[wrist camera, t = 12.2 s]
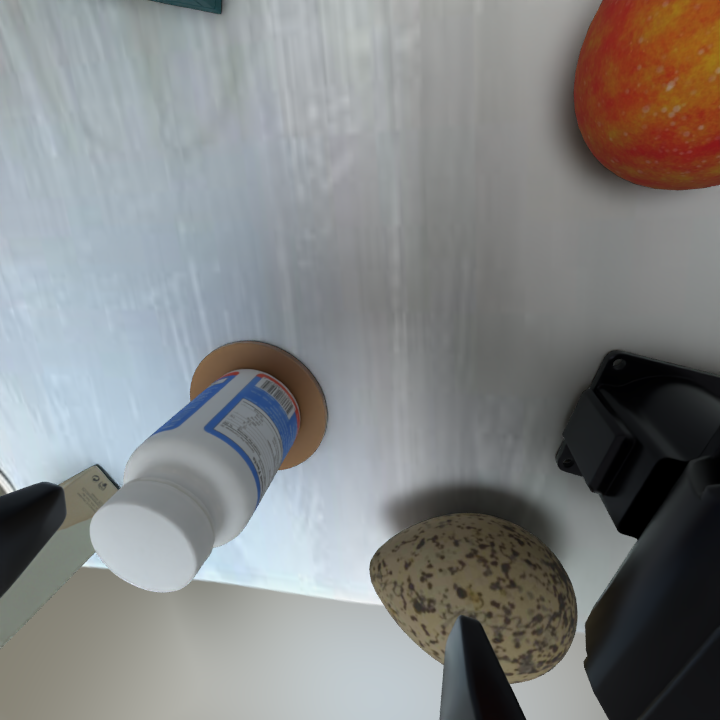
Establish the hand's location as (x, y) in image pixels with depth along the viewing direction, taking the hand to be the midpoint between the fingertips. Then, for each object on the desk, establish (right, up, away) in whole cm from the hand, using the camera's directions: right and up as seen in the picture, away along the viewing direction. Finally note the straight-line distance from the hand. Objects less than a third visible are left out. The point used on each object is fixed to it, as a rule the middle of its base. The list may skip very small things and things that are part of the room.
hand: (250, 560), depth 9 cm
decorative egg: (+13, -8, +11) cm, 19 cm away
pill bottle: (-3, +2, +14) cm, 15 cm away
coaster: (-3, +2, +14) cm, 15 cm away
